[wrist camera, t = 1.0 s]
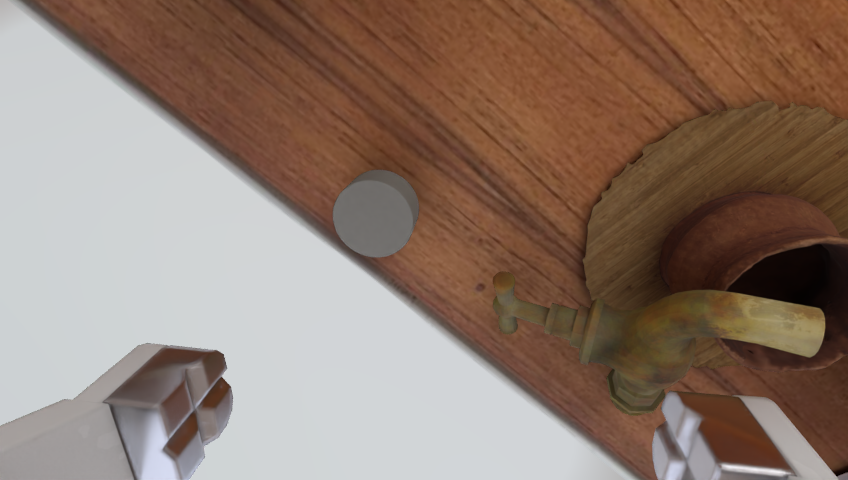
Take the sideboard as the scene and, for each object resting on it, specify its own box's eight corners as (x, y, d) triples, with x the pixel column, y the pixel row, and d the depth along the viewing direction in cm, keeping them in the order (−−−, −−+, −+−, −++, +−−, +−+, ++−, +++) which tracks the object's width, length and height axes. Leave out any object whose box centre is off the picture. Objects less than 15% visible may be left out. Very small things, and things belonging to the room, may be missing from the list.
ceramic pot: (886, 345, 29) (1000, 428, 23) (602, 383, 33) (631, 463, 27) (913, 58, 23) (1080, 60, 16) (560, 146, 27) (584, 176, 20)
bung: (337, 201, 30) (316, 221, 27) (381, 148, 28) (365, 162, 25) (391, 246, 31) (378, 272, 27) (437, 197, 29) (430, 219, 26)
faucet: (712, 457, 29) (491, 375, 35) (718, 396, 31) (508, 329, 37) (827, 367, 18) (471, 269, 24) (824, 281, 20) (498, 211, 26)
